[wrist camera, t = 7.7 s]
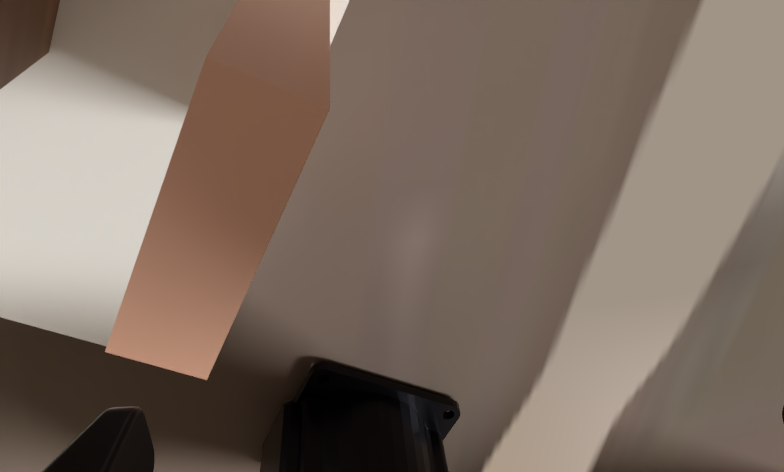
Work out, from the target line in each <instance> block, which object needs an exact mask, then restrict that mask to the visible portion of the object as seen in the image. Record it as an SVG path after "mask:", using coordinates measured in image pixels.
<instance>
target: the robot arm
mask: <svg viewBox="0 0 784 472" xmlns="http://www.w3.org/2000/svg"><path fill="white" fill-rule="evenodd" d="M321 374H326V375H327V376H325V377H322V376H319V375H321ZM445 411H449V412H445ZM459 417H460V410H459V405H458V403H457V402H456V401H454V400H452V399H449V398H446V397H442V396H439V395H435V394H432V393H429V392H425V391H422V390H419V389H415V388H412V387H408V386H405V385H402V384H398V383H395V382H392V381H388V380H385V379H381V378H378V377H375V376H371V375H368V374H365V373H361V372H358V371H354V370H351V369H348V368H344V367H341V366H337V365H334V364H331V363H326V362H321V363H317V364H315V365H314V366H313V367H312V368H311V370H310V371H309V373H308V375H307V377H306V379H305V381H304V383H303V384H302V386H301V388H300V390H299V392H298V394H297V395H296V397H295V399H294V401H293V402H292V401H289V402H287V403H286V404H284V405H283V407H282V409H281V411H280V413H279V415H278V416H277V418H276V420H275V422H274V424H273V426H272V428H271V430H270V432H269V433H268V435H267V437H266V439H265V441H264V443H263V449H262V458H261V467H260V472H448V467H447V462H446V457H445V451H444V446H443V439H444V438H445V437H446V435H447V434H448V432H449V431H450V430H451V428H452V427H453V425H454V424H455V423H456V421H457V420H458V419H459ZM782 417H783V422H784V406H783V411H782ZM153 470H154V449H153V445H152V441H151V437H150V434H149V430H148V426H147V423H146V419H145V415H144V413H143V411H142V409H141V408H140V407H137V406H128V407H112V408H108V409H107V410H105V411H104V412H102V413H101V414H100V415H99V416H98V417H97V418H96V419H95V420H94V421H93V422H92V423H91V424H90V425H89V426H88V427H87V428H86V429H85V430H84V431H83V432H82V433H81V434H80V435H79V436H78V437H77V438H76V439H75V440H74V441H73V442H72V443H71V444H70V445H69V446H68V447H67V448H66V449H65V450H64V451H63V452H62V453H61V454H60V455H59V456H58V457H56V458H55V459H54V460H53V461H52V462H51V463H50V464H49V465H48V466H47V467H46V468H45V469H44V470H43V471H42V472H153Z"/></svg>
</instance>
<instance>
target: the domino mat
mask: <svg viewBox="0 0 784 472" xmlns="http://www.w3.org/2000/svg"><path fill="white" fill-rule="evenodd" d="M237 1H238V0H60V3H59V8H58V12H57V17H56V21H55V26H54V31H53V35H52V40H51V45H50V49H49V53H47V54H46V55H45V56H44V57H42V58H41V59H40V60H38V61H37V62H36V63H34V64H33V65H32V66H30V67H29V68H28V69H26V70H25V71H24V72H22V73H21V74H20V75H19V76H17V77H16V78H15V79H13V80H12V81H11V82H9V83H8V84H7V85H5V86H4V87H3V88H1V89H0V317H1V318H5V319H8V320H12V321H16V322H19V323H23V324H27V325H30V326H34V327H38V328H41V329H45V330H49V331H52V332H56V333H59V334H63V335H67V336H70V337H74V338H78V339H81V340H85V341H89V342H92V343H96V344H100V345H103V346H107V344H108V341H109V338H110V335H111V332H112V329H113V326H114V324H115V321H116V318H117V315H118V312H119V309H120V306H121V303H122V300H123V297H124V294H125V291H126V289H127V286H128V283H129V280H130V277H131V274H132V271H133V268H134V265H135V262H136V259H137V256H138V254H139V251H140V248H141V245H142V242H143V239H144V236H145V233H146V230H147V227H148V224H149V221H150V219H151V216H152V213H153V210H154V207H155V204H156V201H157V198H158V195H159V192H160V189H161V186H162V184H163V181H164V178H165V175H166V172H167V169H168V166H169V163H170V160H171V157H172V154H173V151H174V149H175V146H176V143H177V140H178V137H179V134H180V131H181V128H182V125H183V122H184V119H185V116H186V114H187V111H188V108H189V105H190V102H191V99H192V96H193V93H194V90H195V87H196V84H197V81H198V78H199V76H200V73H201V70H202V67H203V64H204V61H205V58H206V56H207V54H208V52H209V50H210V49H211V47H212V45H213V43H214V42H215V40H216V38H217V36H218V35H219V33H220V31H221V29H222V28H223V26H224V24H225V22H226V21H227V19H228V17H229V15H230V14H231V12H232V10H233V8H234V7H235V5H236V3H237ZM348 2H349V0H330V45H331V42H332V40H333V38H334V35H335V33H336V31H337V28H338V26H339V24H340V21H341V19H342V16H343V14H344V12H345V9H346V7H347V5H348Z"/></svg>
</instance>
